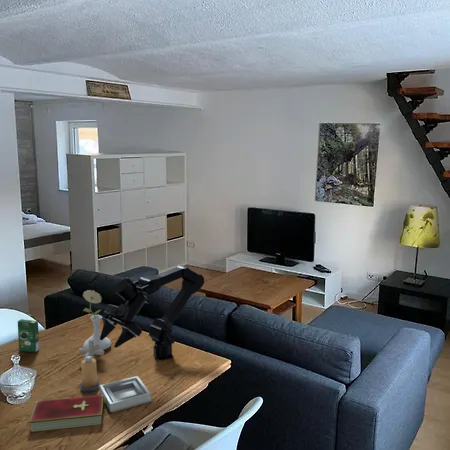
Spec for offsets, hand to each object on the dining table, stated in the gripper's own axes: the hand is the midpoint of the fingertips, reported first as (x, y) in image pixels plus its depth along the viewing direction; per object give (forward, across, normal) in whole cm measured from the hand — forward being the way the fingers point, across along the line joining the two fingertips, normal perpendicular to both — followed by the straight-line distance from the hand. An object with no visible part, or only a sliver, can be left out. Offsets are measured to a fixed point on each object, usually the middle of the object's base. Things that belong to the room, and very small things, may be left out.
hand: (107, 343), depth 170 cm
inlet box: (+12, +14, +8) cm, 20 cm away
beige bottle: (+16, 0, +4) cm, 16 cm away
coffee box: (+16, -44, +4) cm, 47 cm away
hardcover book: (+26, +11, -5) cm, 29 cm away
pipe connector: (+8, -15, +12) cm, 21 cm away
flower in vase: (+2, -27, +18) cm, 33 cm away
